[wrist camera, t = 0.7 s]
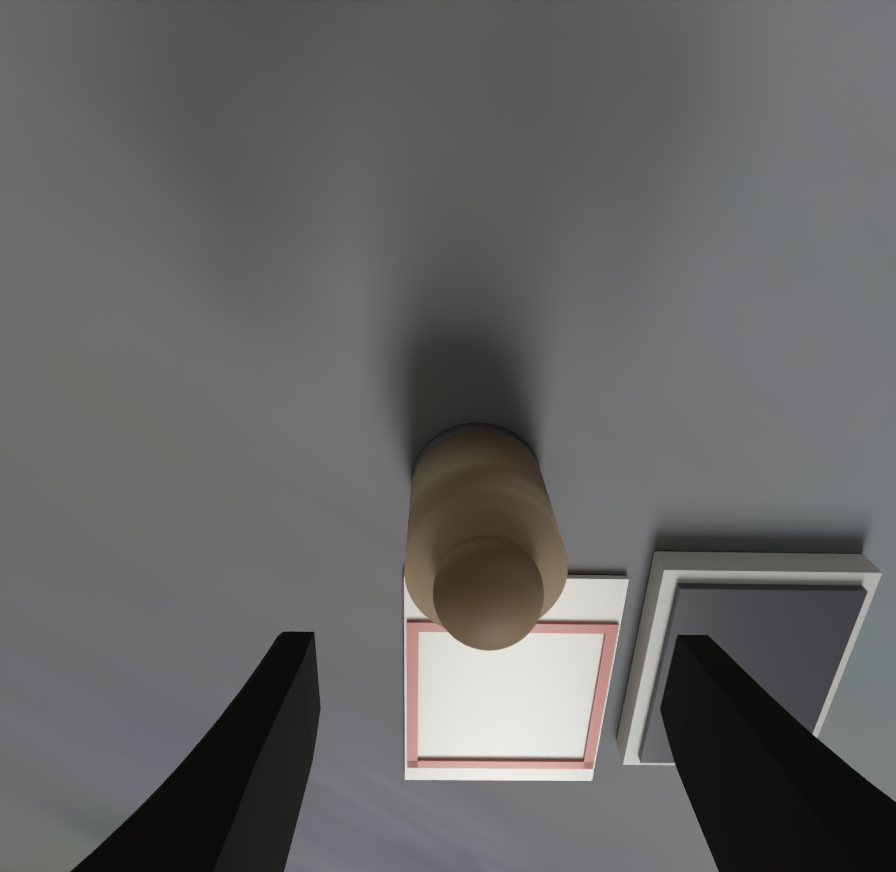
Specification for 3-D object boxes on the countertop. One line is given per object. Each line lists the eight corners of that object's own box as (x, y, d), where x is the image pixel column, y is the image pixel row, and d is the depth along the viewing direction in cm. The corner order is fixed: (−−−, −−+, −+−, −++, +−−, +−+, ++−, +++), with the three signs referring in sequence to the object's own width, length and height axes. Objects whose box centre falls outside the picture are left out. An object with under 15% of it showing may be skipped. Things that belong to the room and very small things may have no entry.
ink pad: (862, 554, 21) (888, 578, 20) (792, 743, 25) (810, 773, 23) (654, 551, 21) (667, 576, 19) (616, 741, 24) (625, 771, 23)
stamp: (545, 423, 19) (596, 555, 13) (534, 536, 20) (574, 699, 14) (412, 421, 19) (398, 553, 13) (411, 534, 20) (399, 698, 14)
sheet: (627, 575, 21) (629, 581, 21) (590, 776, 25) (592, 783, 25) (404, 572, 21) (403, 579, 20) (405, 775, 25) (404, 782, 25)
